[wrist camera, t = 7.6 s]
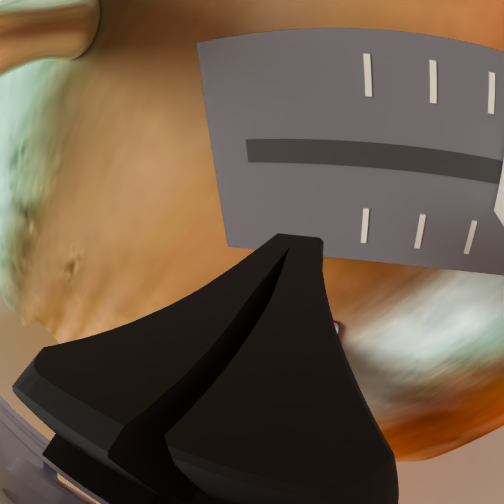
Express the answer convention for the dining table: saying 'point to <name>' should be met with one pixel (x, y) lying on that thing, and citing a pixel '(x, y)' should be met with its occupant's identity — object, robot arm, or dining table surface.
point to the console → (359, 143)
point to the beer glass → (45, 31)
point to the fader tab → (500, 198)
